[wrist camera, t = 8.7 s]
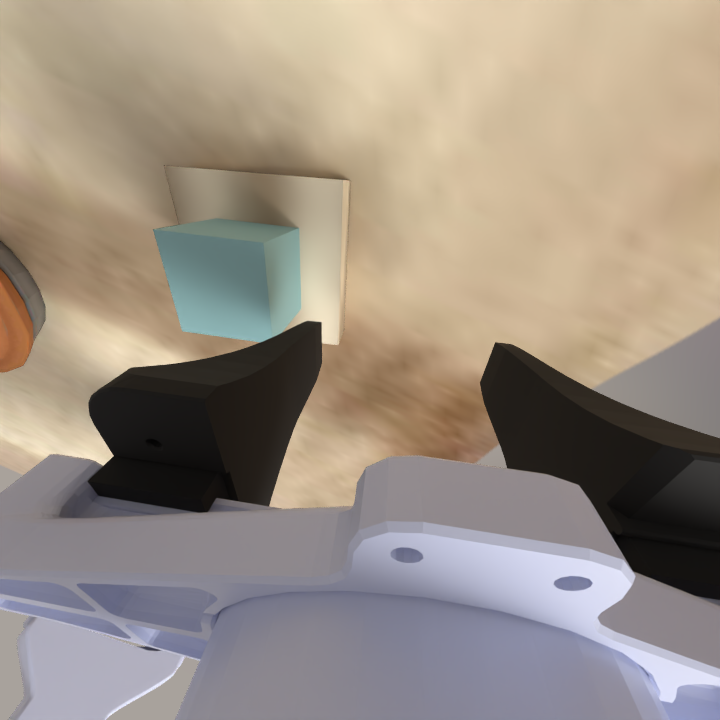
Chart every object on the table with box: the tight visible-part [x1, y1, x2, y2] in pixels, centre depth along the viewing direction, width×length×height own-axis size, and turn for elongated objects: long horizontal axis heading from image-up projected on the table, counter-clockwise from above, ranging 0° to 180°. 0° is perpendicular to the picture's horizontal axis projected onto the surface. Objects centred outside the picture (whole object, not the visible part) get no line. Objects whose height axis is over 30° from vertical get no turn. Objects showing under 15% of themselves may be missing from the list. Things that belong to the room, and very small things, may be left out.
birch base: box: [164, 165, 350, 345], centre depth 19 cm, size 10×10×2 cm
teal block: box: [153, 218, 301, 342], centre depth 15 cm, size 5×5×5 cm
